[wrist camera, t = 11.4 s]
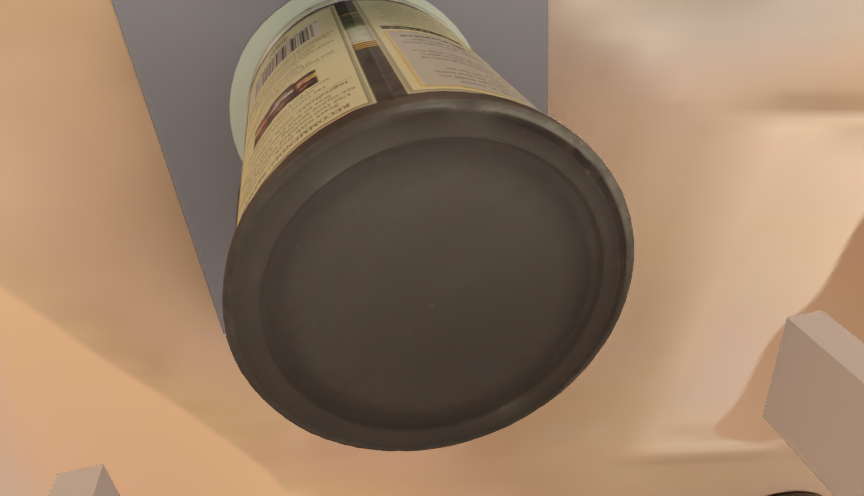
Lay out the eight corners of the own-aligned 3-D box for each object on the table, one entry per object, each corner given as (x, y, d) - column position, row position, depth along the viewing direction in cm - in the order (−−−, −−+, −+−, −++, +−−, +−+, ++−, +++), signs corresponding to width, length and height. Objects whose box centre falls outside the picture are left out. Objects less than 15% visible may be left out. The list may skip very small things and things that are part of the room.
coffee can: (436, 243, 31) (532, 470, 20) (222, 192, 28) (180, 432, 16) (522, 41, 27) (712, 174, 15) (283, -51, 24) (288, 29, 12)
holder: (538, 258, 35) (593, 340, 29) (225, 319, 33) (213, 420, 27) (537, -175, 25) (623, -190, 18) (77, -128, 22) (2, -129, 16)
